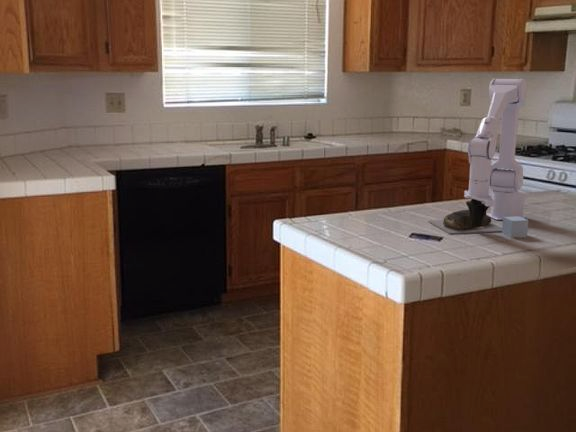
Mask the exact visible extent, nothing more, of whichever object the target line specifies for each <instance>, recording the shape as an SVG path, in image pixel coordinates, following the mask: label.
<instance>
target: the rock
mask: <svg viewBox="0 0 576 432" xmlns="http://www.w3.org/2000/svg"><path fill="white" fill-rule="evenodd" d="M486 214H487V212H486V213H485V215H484V218H483V221H482V224H481V226H473V225H472V221H471V215H470V211H469V208H468V209H464V210H463V209H461V210H458V211H453V212H451V213H449V214H447V215H445V216H444V217H443V220H444V222H443V224H444V226H447V227H451V228H456V229H460V230H466V229H472V228H478V227H482V226H485V225H487V224H489V223H492V218H491V217H489V216H487V215H486Z"/></svg>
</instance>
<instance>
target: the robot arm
mask: <svg viewBox="0 0 576 432" xmlns="http://www.w3.org/2000/svg"><path fill="white" fill-rule="evenodd" d="M527 91H528V85H527V81H526V80H525V79H524V78H492V80H491V81H490V83H489V87H488V93H489V98H490V105H489V109H488V112H487V116H486V117H483V118H482V119H481V121H480V124H479V126H478V129H477V132H476V134H475V137H473V138H471V139H470V140H469V143H468V147H467V155H468V164H470V165H469V180H468V190H467V189H466V190H464V191H463V192H464V195H463V197H464V198H466V199H471V200H467V201H466V202H465V203H466V206H467V208H468V209H469V211H470V215H471V221H472V225H473V226H481V224H482V221H483V218H484V215H485V213H486V215H487V216H489V217H490V218H491V219H494V220H495V221H503V217H516V216H520V217H522V218H524V219H525V216H524V209H525V195H524V192H523V191H522V190H520V189H522V187H523V184H524V168H523V165H522V164H520V162H518V160H516V147H517V146H516V145H517V138H518V137H517V135H518V123H519V114H520V109H521V107H523V106H525V105H526V101H527V94H528V93H527ZM500 120H501V122H500ZM499 133H500V139H499V151H498V159H497V160H495V161H494V162H492V159H493V158H494V157H495V154H496V150H497V139H498V135H499ZM490 190H491V191H492V195H490ZM490 207H491V210H490V213H489V212H488V213H487V211H488V209H489V208H490Z"/></svg>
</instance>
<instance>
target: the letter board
mask: <svg viewBox="0 0 576 432" xmlns="http://www.w3.org/2000/svg"><path fill="white" fill-rule="evenodd" d="M443 222H444V219H437V220H435V219H433V220H428V221H427V223H429V224H431V225H433V226H435V227H436V228H438V229H439V230H442V231H443V232H445V233H446V234H448V235H462V234H463V235H466V234H468V235H469V234H485V233H502V226H499V225H496V223H495V224H494V223H493V222H491V223H489V224H487V225H485V226H482V227H478V228H472V229H466V230H460V229H456V228H451V227H447V226H444V224H443Z"/></svg>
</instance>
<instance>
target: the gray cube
mask: <svg viewBox="0 0 576 432" xmlns="http://www.w3.org/2000/svg"><path fill="white" fill-rule="evenodd" d="M501 228H502V232H501V234H502V235H504V236H506V237H507V238H510V239H511V238H512V239H513V238H514V237H517V238H527V237H528V229H529V219H526V218H525V217H524V218H522V217H520V216H516V217H503V220H502V226H501ZM514 239H515V238H514Z"/></svg>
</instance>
